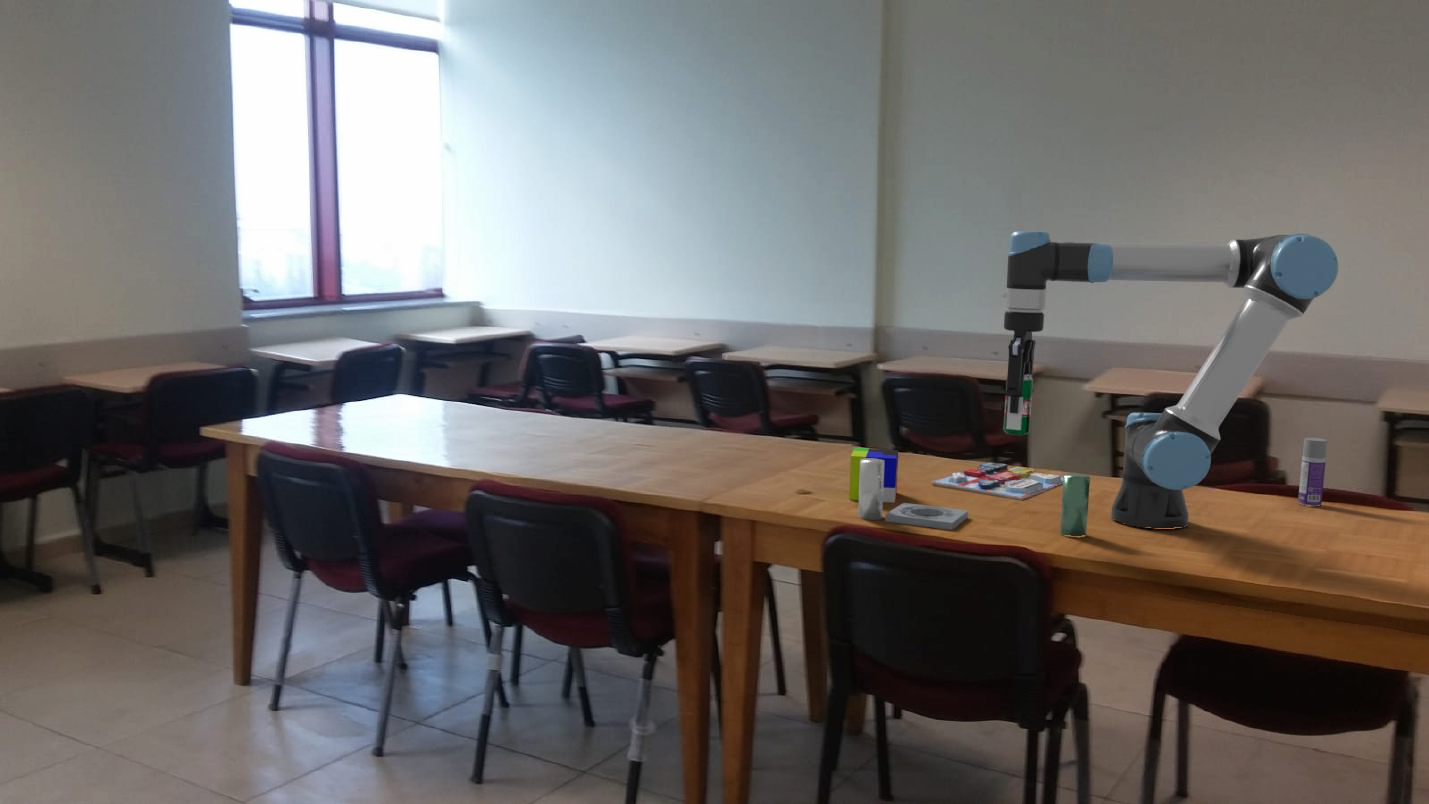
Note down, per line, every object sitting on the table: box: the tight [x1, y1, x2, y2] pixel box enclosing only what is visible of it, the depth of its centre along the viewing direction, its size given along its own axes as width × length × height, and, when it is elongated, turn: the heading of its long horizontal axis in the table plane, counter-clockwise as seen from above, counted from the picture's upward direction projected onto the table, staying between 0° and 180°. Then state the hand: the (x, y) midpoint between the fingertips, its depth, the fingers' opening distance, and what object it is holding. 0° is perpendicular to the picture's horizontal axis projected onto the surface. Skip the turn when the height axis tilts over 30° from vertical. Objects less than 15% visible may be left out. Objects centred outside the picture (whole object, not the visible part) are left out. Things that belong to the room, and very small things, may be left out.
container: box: [1297, 437, 1328, 506], centre depth 257 cm, size 5×5×15 cm
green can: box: [1059, 472, 1091, 536], centre depth 227 cm, size 5×5×12 cm
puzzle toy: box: [848, 447, 899, 504], centre depth 258 cm, size 10×10×10 cm
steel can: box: [857, 458, 884, 521], centre depth 238 cm, size 5×5×12 cm
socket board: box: [884, 502, 969, 531], centre depth 238 cm, size 14×12×2 cm
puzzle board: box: [931, 462, 1063, 501], centre depth 276 cm, size 30×23×3 cm
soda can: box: [1003, 373, 1034, 436], centre depth 227 cm, size 5×5×12 cm
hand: (1016, 427), depth 228 cm, fingers closed on soda can, 5 cm apart
